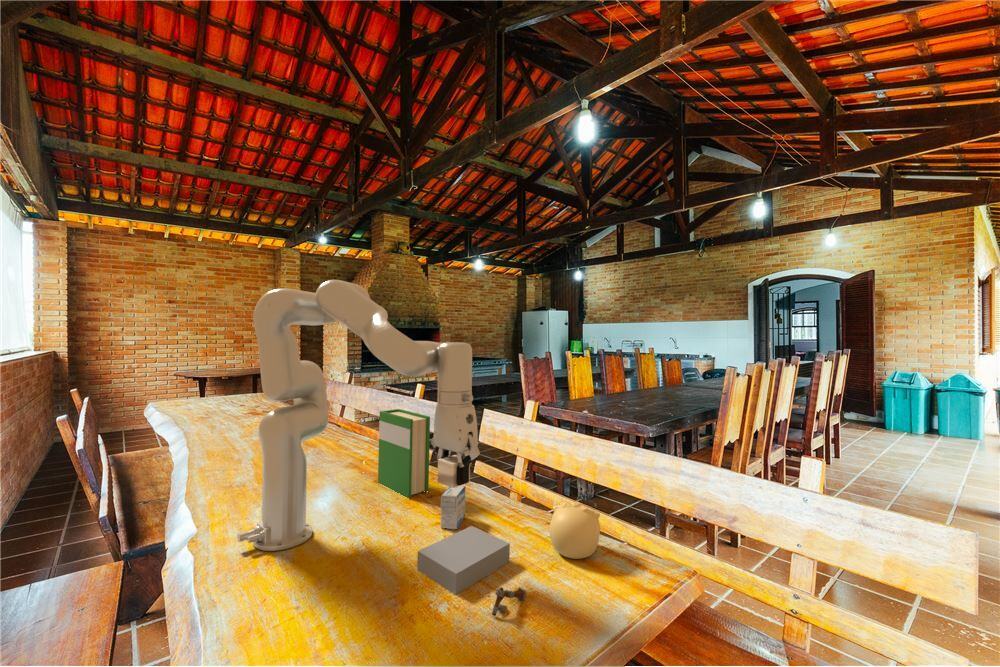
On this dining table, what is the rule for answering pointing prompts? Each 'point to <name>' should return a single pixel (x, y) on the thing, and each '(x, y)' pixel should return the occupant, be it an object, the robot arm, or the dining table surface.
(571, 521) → the sculpture
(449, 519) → the medicine box
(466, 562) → the stand
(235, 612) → the dining table surface
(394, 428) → the hardback book
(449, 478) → the wooden cube
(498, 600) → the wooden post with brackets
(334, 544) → the dining table surface
